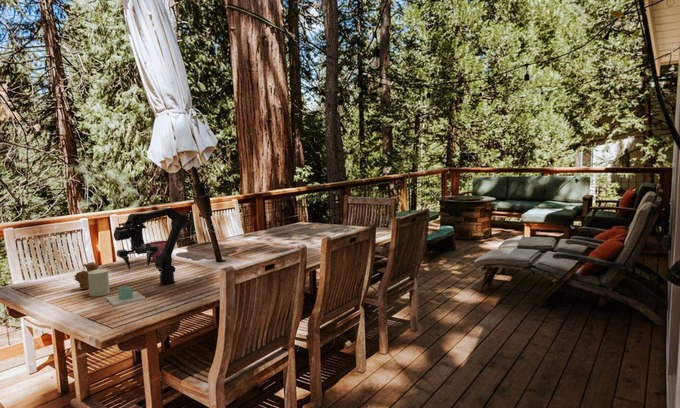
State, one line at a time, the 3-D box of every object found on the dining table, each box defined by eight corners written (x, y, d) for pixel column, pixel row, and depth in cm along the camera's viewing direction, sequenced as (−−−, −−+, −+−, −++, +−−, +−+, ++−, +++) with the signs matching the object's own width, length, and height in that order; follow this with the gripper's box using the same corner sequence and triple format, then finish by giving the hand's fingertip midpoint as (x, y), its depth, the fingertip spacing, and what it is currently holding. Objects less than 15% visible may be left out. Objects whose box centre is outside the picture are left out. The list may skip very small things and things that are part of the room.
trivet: (136, 292, 215) (136, 291, 215) (145, 299, 204) (145, 297, 204) (106, 299, 206) (106, 297, 206) (113, 306, 195) (113, 304, 195)
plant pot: (150, 259, 290) (149, 241, 289) (172, 257, 295) (171, 239, 293) (147, 264, 277) (146, 244, 275) (170, 262, 281) (169, 243, 280)
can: (91, 291, 218) (89, 269, 217) (111, 289, 221) (109, 267, 220) (87, 297, 209) (85, 273, 208) (108, 294, 213) (106, 271, 211)
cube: (129, 295, 209) (129, 285, 208) (132, 297, 205) (132, 287, 204) (118, 297, 205) (118, 287, 205) (121, 299, 202) (120, 289, 201)
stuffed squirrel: (108, 284, 232) (106, 260, 231) (87, 291, 218) (85, 267, 217) (94, 283, 235) (92, 259, 233) (71, 290, 221) (69, 266, 220)
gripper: (121, 242, 205) (123, 273, 206) (160, 237, 217) (162, 266, 219) (115, 239, 213) (117, 269, 215) (153, 234, 226) (155, 263, 227)
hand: (138, 267), depth 219 cm, fingers open, 9 cm apart
